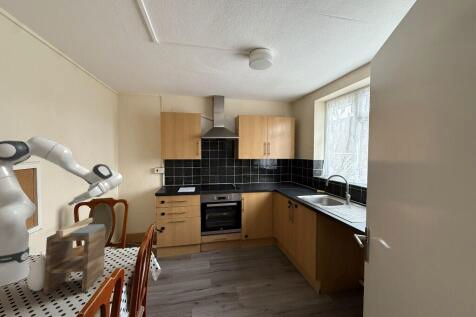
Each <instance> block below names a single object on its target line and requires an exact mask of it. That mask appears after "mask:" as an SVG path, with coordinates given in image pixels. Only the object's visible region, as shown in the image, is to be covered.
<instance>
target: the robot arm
mask: <svg viewBox="0 0 476 317" xmlns="http://www.w3.org/2000/svg"><path fill="white" fill-rule="evenodd" d="M32 156H35V157H39V158H41V159H44V160H45V161H48V162H50V163H53V164H54V165H57V166H58V167H59V168H61V169H63V170H65V171H67V172H68V173H71V174H73V175H75V176H77V177H79V178H81V179H82V180H84V181H85V182H86V183H87V184H88V185H89V186H88V188H87V191H85V192H83V193H81V194H78V195H77V196H75V197H73V200H71V201H70V202H68V203H67V205H68V206H69V207H71V206H72V205H74V204H75V205H76V204H79V203H81V202H84V201H86V200H90V199H93V198H101V197H102V196H103V195H106V194H107V193H108V192H109V191H111V190H114V189H116V188H117V187H118V186H119V185H121V184H122V182H123V175H122V174H121V173H120V172H119V171H114V170H113V169H111V168H110V167H109V166H108V165H107V164H103V163H99V164H96V165H94V166H93V167H92V169H91V170H90V169H87V168H86V167H84V166H82V165H81V164H79V163H77V162H76V161H75V158H74V155H73V153H72V150H71V149H70V148H68V147H66V146H65V145H63V144H61V143H60V142H59V143H58V142H56V141H54V140H52V139H48V138H46V137H42V136H37V135H36V136H33V137H30V138H29V139H28V140H27V141H22V140H2V141H0V288H1V287H4V286H7V285H8V286H9V285H11V284H14V283H17V282H19V281H20V282H21V281H22V280H23V279H26V278H27V277H28V274H29V271H30V269H31V267H30V262H29V255H30V247H29V243H30V242H29V240H30V232H29V231H28V228H27V224H26V222H27V220H28V219H29V218H31V217H32V216H33V215H34V214H35V212H36V209H37V206H36V204H35V203H34V202H32V201H31V200H30V198H29V197H28V195H27V194H26V193H25V192H24V191H23V188H22V187H21V185H20V183H19V180H18V178H17V175H16V174H15V172H14V168H13V166H17V165H19V164H21V163H23V162H25V161H27V160H28V159H30V158H31V157H32Z"/></svg>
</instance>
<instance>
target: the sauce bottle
mask: <svg viewBox="0 0 476 317" xmlns="http://www.w3.org/2000/svg"><path fill="white" fill-rule="evenodd" d="M45 258H46V255H43V253H42V251H40V256H38V257H37V258H36V260H35V261H34V263H32V265H31V267H30V271H29V274H28V276H27V277H26V278H27V279H26V285H27V287H28V289H30V290H31V291H34V292H39V291H41V290H42V289H43V290H44V274H45Z"/></svg>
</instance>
